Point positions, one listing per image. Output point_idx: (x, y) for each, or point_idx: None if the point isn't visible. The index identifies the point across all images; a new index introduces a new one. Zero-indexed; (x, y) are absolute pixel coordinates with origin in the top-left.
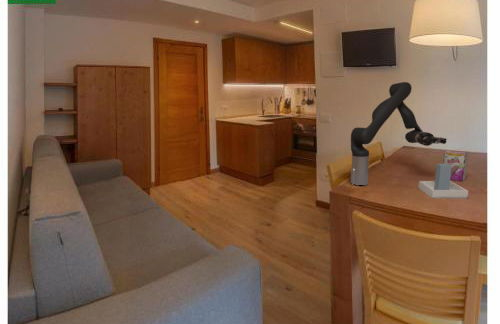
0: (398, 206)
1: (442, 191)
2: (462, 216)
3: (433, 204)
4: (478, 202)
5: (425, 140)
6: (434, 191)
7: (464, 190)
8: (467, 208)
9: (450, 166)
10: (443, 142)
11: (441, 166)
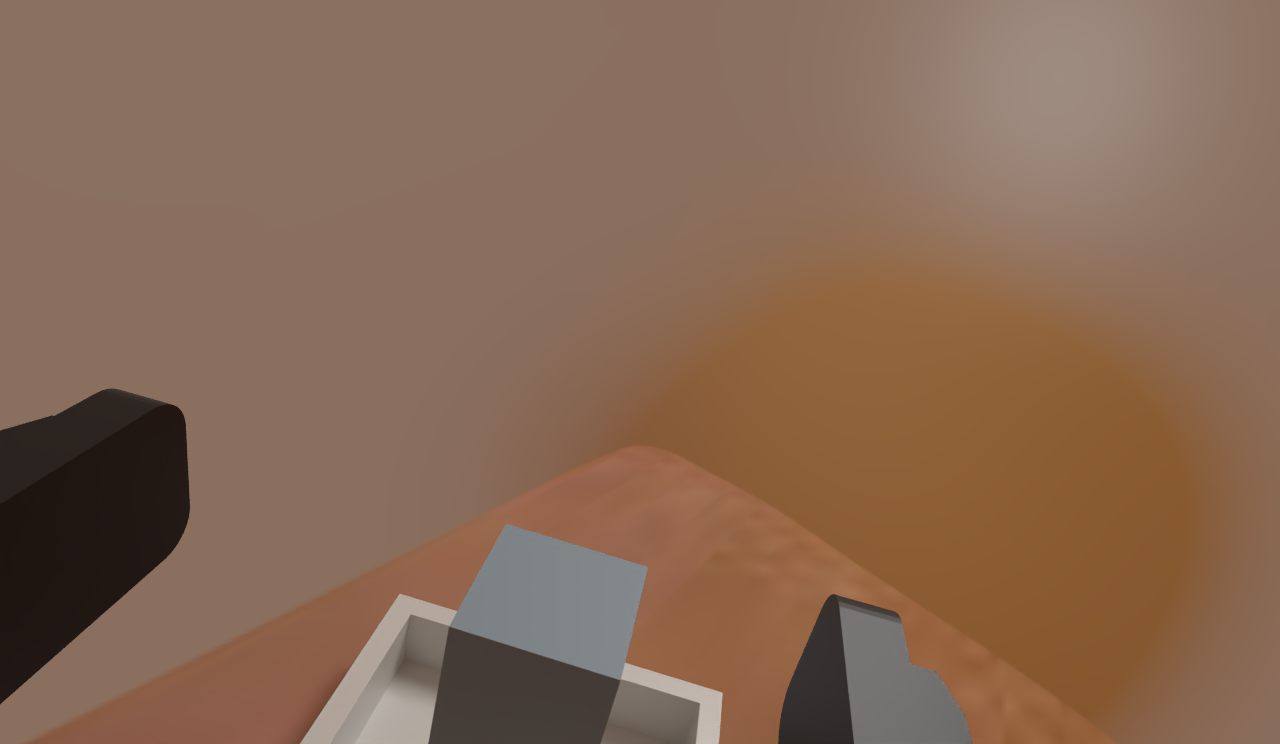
0: (1012, 673)
1: (628, 671)
2: (692, 480)
3: (759, 636)
4: (396, 574)
5: (943, 685)
6: (703, 693)
7: (422, 610)
8: (580, 530)
9: (516, 534)
10: (150, 521)
11: (633, 570)
